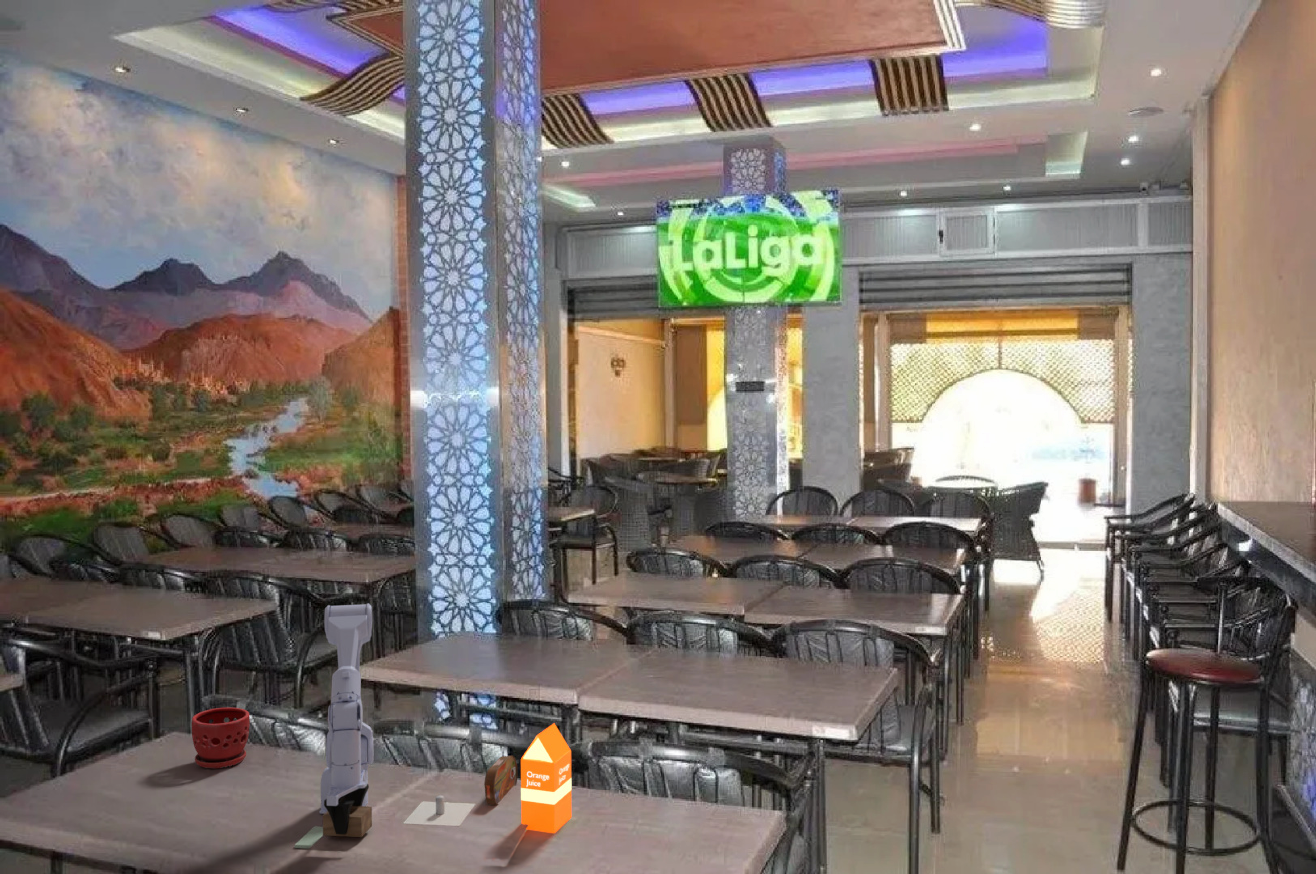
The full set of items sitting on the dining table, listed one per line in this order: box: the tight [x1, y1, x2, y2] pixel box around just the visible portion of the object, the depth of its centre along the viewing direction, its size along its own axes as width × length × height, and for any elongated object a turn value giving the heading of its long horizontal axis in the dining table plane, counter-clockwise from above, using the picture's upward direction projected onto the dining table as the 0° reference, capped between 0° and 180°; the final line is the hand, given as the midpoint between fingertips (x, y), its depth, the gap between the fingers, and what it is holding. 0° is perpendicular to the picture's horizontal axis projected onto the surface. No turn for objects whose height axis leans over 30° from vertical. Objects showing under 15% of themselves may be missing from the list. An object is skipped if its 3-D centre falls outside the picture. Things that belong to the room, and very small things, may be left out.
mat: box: [294, 826, 324, 849], centre depth 214 cm, size 18×9×1 cm, turn 83°
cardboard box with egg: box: [322, 805, 373, 838], centre depth 214 cm, size 5×8×4 cm
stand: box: [402, 795, 476, 827], centre depth 225 cm, size 12×12×4 cm
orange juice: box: [520, 722, 573, 834], centre depth 222 cm, size 8×9×20 cm
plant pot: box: [191, 707, 251, 769], centre depth 259 cm, size 13×13×12 cm
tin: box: [483, 755, 518, 806], centre depth 236 cm, size 15×3×8 cm, turn 168°
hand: (347, 827), depth 214 cm, fingers closed on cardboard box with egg, 5 cm apart
